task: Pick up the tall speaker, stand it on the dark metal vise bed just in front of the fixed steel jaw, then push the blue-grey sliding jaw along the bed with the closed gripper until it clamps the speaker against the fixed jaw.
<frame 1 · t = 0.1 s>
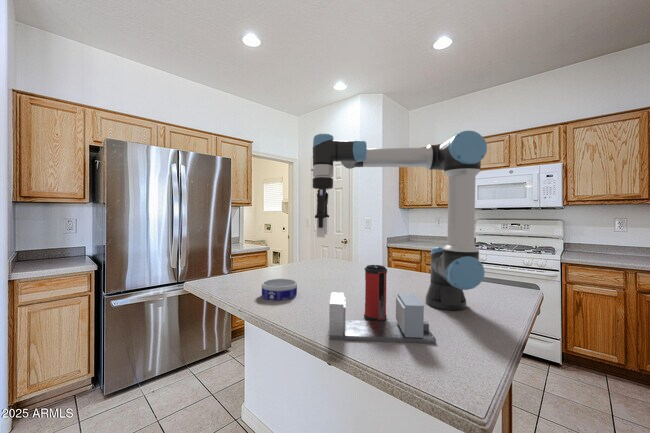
hand: (322, 235, 104), 28 cm above the countertop, fingers open, 13 cm apart
vise bed: (379, 332, 87), on the countertop
slide jaw: (413, 314, 86), point 6 cm above the countertop, slide at 0.0 cm
fixed jaw: (336, 330, 88), resting on vise bed
speaker: (375, 318, 99), on the countertop
dog bowl: (279, 296, 124), on the countertop
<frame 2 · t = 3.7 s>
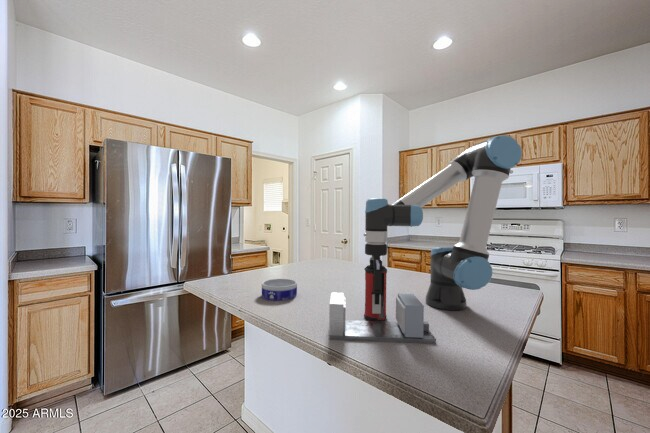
hand: (375, 309, 99), 3 cm above the countertop, fingers closed on speaker, 7 cm apart
speaker: (375, 318, 99), on the countertop, touching gripper
everything else where it was.
when the fingers open (6 cm above the countertop, at t = 9.4 s): speaker drops 2 cm, resting on vise bed.
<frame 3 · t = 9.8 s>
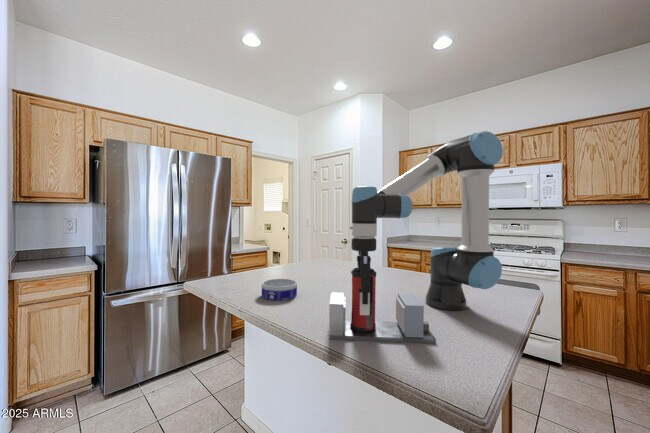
hand: (363, 307, 87), 8 cm above the countertop, fingers open, 13 cm apart
speaker: (362, 328, 87), point 1 cm above the countertop, touching vise bed
everything else where it was.
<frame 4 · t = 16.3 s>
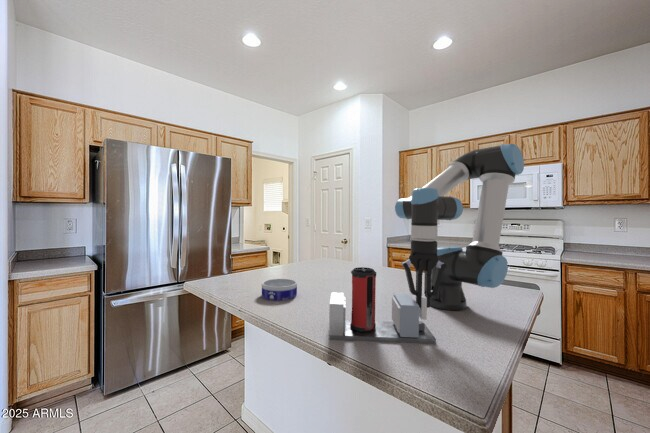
hand: (422, 317, 86), 5 cm above the countertop, fingers closed
slide jaw: (409, 313, 86), point 6 cm above the countertop, slide at 1.3 cm, touching gripper
everything else where it was.
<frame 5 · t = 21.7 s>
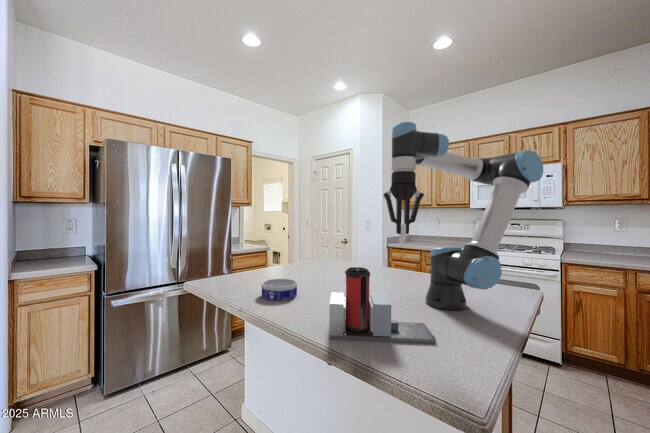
hand: (402, 244, 93), 26 cm above the countertop, fingers closed
slide jaw: (383, 313, 87), point 6 cm above the countertop, slide at 9.0 cm
speaker: (356, 328, 87), point 1 cm above the countertop, touching vise bed
everything else where it was.
at the end: slide jaw slide at 9.0 cm; speaker 0.4 cm from the target spot, point 1.0 cm above the countertop; speaker tilted 0° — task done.
